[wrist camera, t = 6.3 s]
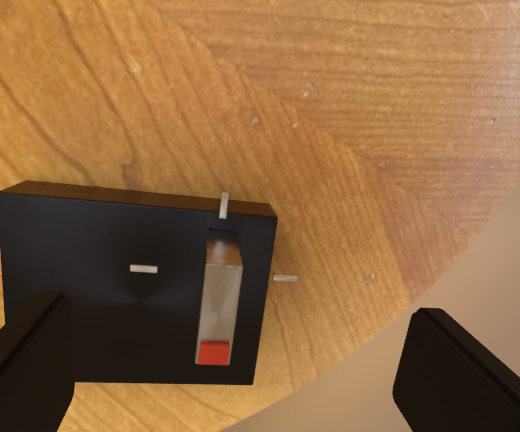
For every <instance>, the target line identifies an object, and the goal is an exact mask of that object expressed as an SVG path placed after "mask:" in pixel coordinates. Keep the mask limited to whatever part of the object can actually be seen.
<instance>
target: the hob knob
mask: <svg viewBox="0 0 520 432" xmlns="http://www.w3.org/2000/svg"><path fill="white" fill-rule="evenodd" d="M242 272H243V263H242V258H241V254H240V249H239V244H238V239H237V234H236V232H228V231H218V230H207V232H206V242H205V251H204V260H203V269H202V279H201V288H200V297H199V306H198V318H197V334H196V349H195V364H203V365H229V364H230V358H231V351H232V344H233V336H234V329H235V322H236V315H237V308H238V301H239V293H240V286H241V279H242Z"/></svg>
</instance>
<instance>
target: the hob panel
mask: <svg viewBox="0 0 520 432" xmlns="http://www.w3.org/2000/svg"><path fill="white" fill-rule="evenodd" d="M228 196H229V193H228V192H222V195H221V199H214V198H204V197H193V196H183V195H172V194H162V193H152V192H141V191H131V190H120V189H110V188H100V187H89V186H79V185H68V184H58V183H48V182H37V181H24V182H21V183H19V184H16V185H14V186H11V187H9V188H6V189H3V190H1V191H0V250H1V266H2V282H3V298H4V314H5V324H6V323H7V322H8V321H9V320H10V319H11V318H12V317H13V316H14V315H15V314H16V312H17V311H18V310H19V309H20V308H21V307H22V306H23V305H24V304H25V303H26V302H27V301H28V300H29V299H30V298H31V297H32V296H33V295H34V294H35V293H36V292H37V291H39V290H42V291H63V292H64V293H65V296H66V297H70V298H72V301H73V333H74V377H75V382H97V383H157V384H216V385H253V382H254V375H255V368H256V361H257V355H258V348H259V341H260V335H261V328H262V321H263V314H264V308H265V301H266V294H267V287H268V281H269V274H270V267H271V260H272V254H273V247H274V240H275V234H276V227H277V220H278V217H277V216H276V214H275V212H274V211H273V209H272V207H271V206H270V204H266V203H255V202H245V201H235V200H228ZM207 230H218V231H228V232H236V234H237V239H238V244H239V249H240V254H241V258H242V263H243V272H242V279H241V286H240V293H239V301H238V308H237V315H236V322H235V329H234V336H233V344H232V351H231V358H230V364H229V365H203V364H195V349H196V334H197V318H198V306H199V297H200V288H201V279H202V269H203V260H204V251H205V242H206V232H207ZM297 278H298V276H297V275H289V274H273V280H278V281H294V282H297Z"/></svg>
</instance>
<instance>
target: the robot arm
mask: <svg viewBox="0 0 520 432" xmlns="http://www.w3.org/2000/svg"><path fill="white" fill-rule="evenodd" d="M74 388H75V377H74V333H73V301H72V298H70V297H66V296H65V293H64V292H63V291H42V290H39V291H37V292H36V293H35V294H34V295H33V296H32V297H31V298H30V299H29V300H28V301H27V302H26V303H25V304H24V305H23V306H22V307H21V308H20V309H19V310H18V311H17V312H16V314H15V315H14V316H13V317H12V318H11V319H10V320H9V321H8V322H7V323H6V324H5V325H4V326H3V327H2V328H1V329H0V432H57V430H58V428H59V426H60V424H61V422H62V420H63V418H64V416H65V413H66V411H67V409H68V407H69V405H70V403H71V401H72V398H73V394H74ZM393 399H394V401H395V403H396V405H397V407H398V408H399V410H400V412H401V413H402V415H403V416H404V418H405V420H406V421H407V422H408V425H409V426H410V428H411V429H412V431H413V432H520V377H519V376H517V375H516V374H515V373H514V372H513V371H512V370H511V369H509V368H508V367H507V366H506V365H505V364H504V363H503V362H501V361H500V360H499V359H498V358H497V357H496V356H495V355H494V354H492V353H491V352H490V351H489V350H488V349H487V348H486V347H484V346H483V345H482V344H481V343H480V342H479V341H478V340H477V339H475V338H474V337H473V336H472V335H471V334H470V333H469V332H468V331H466V330H465V329H464V328H463V327H462V326H461V325H459V324H458V323H457V322H456V321H455V320H454V319H453V318H452V317H451V316H449V315H448V314H447V313H446V312H445V311H444V310H442V309H440V308H420V309H418V310H417V312H415V313H413V314H412V316H411V320H410V324H409V327H408V331H407V336H406V339H405V343H404V347H403V351H402V355H401V359H400V362H399V366H398V370H397V374H396V378H395V382H394V385H393Z"/></svg>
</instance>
